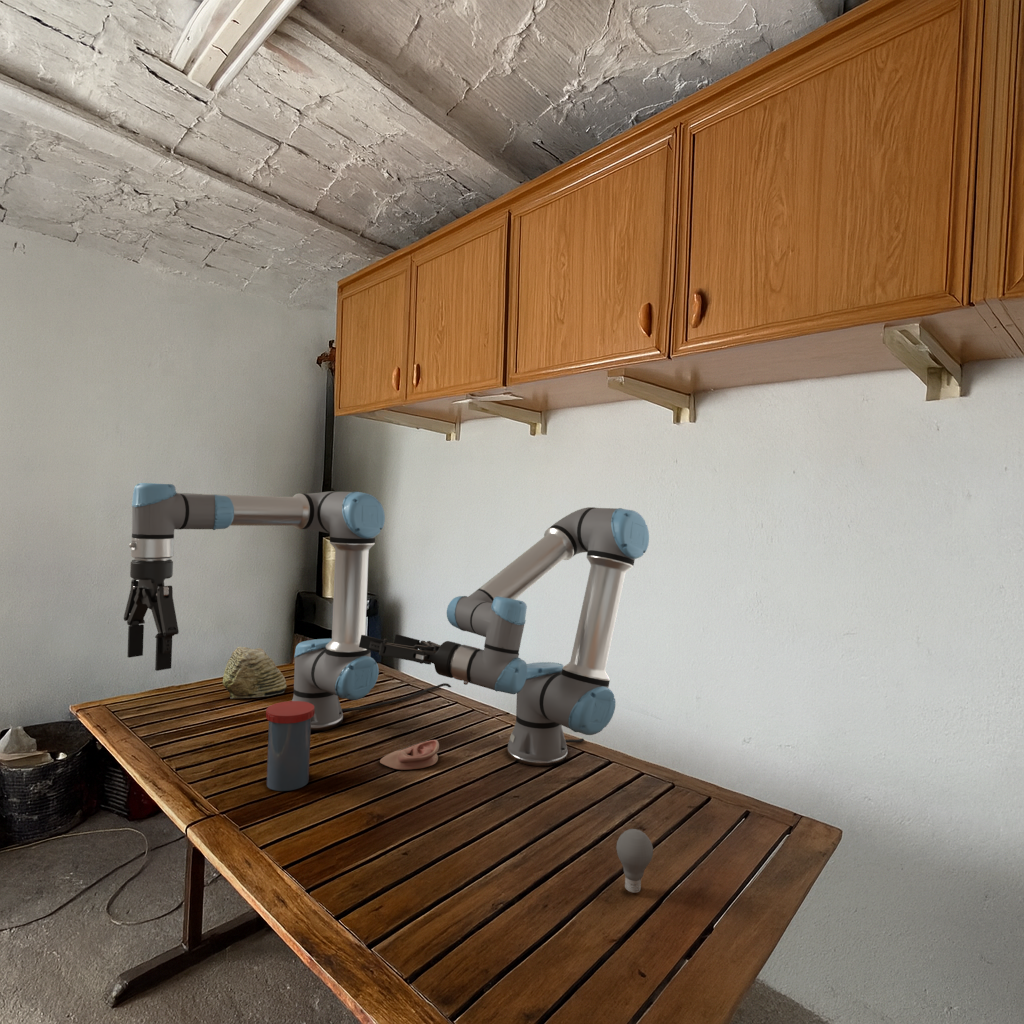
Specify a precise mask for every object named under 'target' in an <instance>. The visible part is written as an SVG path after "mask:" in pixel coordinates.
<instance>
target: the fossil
mask: <svg viewBox="0 0 1024 1024" xmlns="http://www.w3.org/2000/svg"><path fill="white" fill-rule="evenodd" d="M222 676H223V677H222V685H223V687H224V688H225V690H226V691H228V693H229V698H230V699H250V698H264V697H271V696H275V695H281V694H284V693H285V691H286V689H287V687H288V686H287V680H286V678H285V676H284V674H283V673H282V672H281V669H279V668H278V667H277V665H276V663H275V662H274V660H273V659H272V658H271V657H270V656H269V655H268V654H267V653H266V652H265V650H264V649H263V648H260V647H258V648H251V647H247V646H246V647H245V646H238V647H237V648H236V649H235V650H233V651H232V653H231V656H230V657H229V659H228V660H227V663H226V666H225V668H224V671H223V675H222Z"/></svg>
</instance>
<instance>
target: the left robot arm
mask: <svg viewBox="0 0 1024 1024" xmlns="http://www.w3.org/2000/svg"><path fill="white" fill-rule="evenodd" d="M385 515H386V513H385V511H384V508H383V505H382V503H381V502H380V501H379V500H378V498H377V497H375V495H373V494H370V493H367V492H363V491H362V492H361V491H337V490H336V491H335V490H333V491H332V490H330V491H321V492H311V493H295V494H294V495H293V496H276V495H275V496H274V495H273V496H272V495H248V494H247V495H246V494H244V495H243V494H220V493H219V494H218V493H217V494H216V493H215V494H214V493H189V492H187V493H186V492H177V491H176V486H175V485H174V484H173V483H152V482H139V483H137V484H136V485H135V486H134V488H133V492H132V501H131V520H132V521H131V542H130V543H128V547H129V548H130V549H131V550H130V556H131V558H133V559H132V560H131V561H130V567H129V568H130V571H129V574H130V575H129V576H130V578H131V581H130V590H129V594H128V598H127V603H126V607H125V610H124V615H123V621H124V622H126V624H127V626H128V629H127V630H128V631H127V658H135V657H142V656H144V635H145V634H144V630H145V625H144V624H145V623H146V621H145V619H144V618H145V616H146V615H147V612H148V609H149V610H151V613H152V618H153V620H154V624H155V627H156V631H157V633H156V635H155V636H154V638H155V661H154V663H155V665H154V668H155V669H154V670H155V671H157V672H159V671H164V670H169V669H172V659H173V657H172V655H173V637H175V636H176V635H179V632H180V631H179V625H178V619H177V615H176V614H177V613H176V609H175V603H174V597H173V595H174V593H173V585H165V580H167V579H171V578H172V577H173V575H174V573H173V572H174V561H173V560H172V559H171V558H173V557H174V554H175V553H174V552H175V530H213V531H215V530H224V529H228V528H230V526H233V527H234V526H237V527H238V526H240V527H243V526H246V527H247V526H249V527H250V526H258V527H259V526H268V527H269V526H276V527H277V526H282V527H284V526H285V527H286V526H287V527H288V526H289V527H290V526H291V527H293V528H294V529H296V530H308V531H309V530H310V531H316V532H319V533H325V534H329V544H330V545H331V546H332V547H333V548H334V550H335V551H334V572H333V573H334V577H333V599H332V625H331V626H332V627H331V638H317V639H308V640H304V641H300V642H299V643H297V645H296V646H295V650H294V655H293V657H294V672H293V673H294V674H293V695H292V696H293V697H292V699H291V701H303V702H308V703H311V704H313V705H314V709H315V713H314V716H313V717H312V718H311V733H316V732H325V731H329V730H332V729H335V728H337V727H339V726H340V725H342V723H343V722H344V713H343V712H351V711H361V710H362V711H363V710H367V709H373V708H377V707H381V706H385V705H388V704H393V703H398V702H401V701H405V700H408V699H412V698H413V697H416V696H419V695H422V694H425V693H427V692H429V691H433V690H436V689H439V688H441V687H447V688H452V685H451V684H450V683H447V682H445V683H444V682H443V683H440V684H438V685H434V686H432V687H431V686H430V687H429V688H425V689H423V690H420V691H417V692H415V693H412V694H408V695H406V696H403V697H400V698H396V699H391V700H386V701H382V702H378V703H374V704H369V705H365V706H357V707H346V708H342V706H341V702H340V699H339V698H341V699H342V700H343V699H344V700H348V701H349V700H350V701H357V700H360V699H362V698H364V697H365V696H367V695H368V694H370V692H371V690H372V689H374V687H375V685H376V683H377V682H378V678H379V674H380V672H379V671H380V670H379V669H380V668H379V665H378V663H377V662H376V660H375V659H374V657H371V652H372V651H371V650H368V649H364V648H360V647H359V644H360V639H361V635H366V631H367V607H368V606H367V605H368V604H367V602H368V582H369V581H368V579H369V555H370V553H369V552H370V550H371V548H372V547H374V545H375V544H376V536H378V535H379V534H380V533H381V530H383V528H384V526H385V522H386V521H385V520H386V516H385Z"/></svg>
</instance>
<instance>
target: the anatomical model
mask: <svg viewBox="0 0 1024 1024" xmlns="http://www.w3.org/2000/svg"><path fill="white" fill-rule="evenodd" d="M439 748H440V743H439V741H438V740H437V739H431V740H430V739H429V740H426V741H423V742H419V743H416V744H414V745H412V746H409V747H406V748H403V749H400V750H399V749H398V750H395V751H392V752H390V753H388V754H386V755H384V756H383V757H382V758H380V760H379V763H380V764H382V765H384V766H385V767H388V768H390V769H394V770H399V771H400V770H401V771H403V770H404V771H405V770H419V769H424V768H428V767H431V766H433V765H435V764H437V763H438V760H439V756H438V754H437V753H438V752H439Z"/></svg>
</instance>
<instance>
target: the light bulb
mask: <svg viewBox="0 0 1024 1024" xmlns="http://www.w3.org/2000/svg"><path fill="white" fill-rule="evenodd" d="M615 849H616V854H617V857H618V859H619V861H620V863H621V865H622V867H623V873H624V874H623V875H624V876H625V878H624V888H625V890H627V891H628V892H630V893H634V894H635V893H639V892H640V891H641V889H642V887H641V886H642V879H643V877H644V875H645V871H646V868H647V867H648V866H649V864H650V863H651V861H652V859H653V855H654V847H653V843H652V841H651V838H649V836H648V835H647V834H646V833H645V832H643V831H642V830H641V829H636V828H629V829H627V830H625V831H623V832H622V833H621V834H620V835H619V837H618V839H617V841H616V847H615Z"/></svg>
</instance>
